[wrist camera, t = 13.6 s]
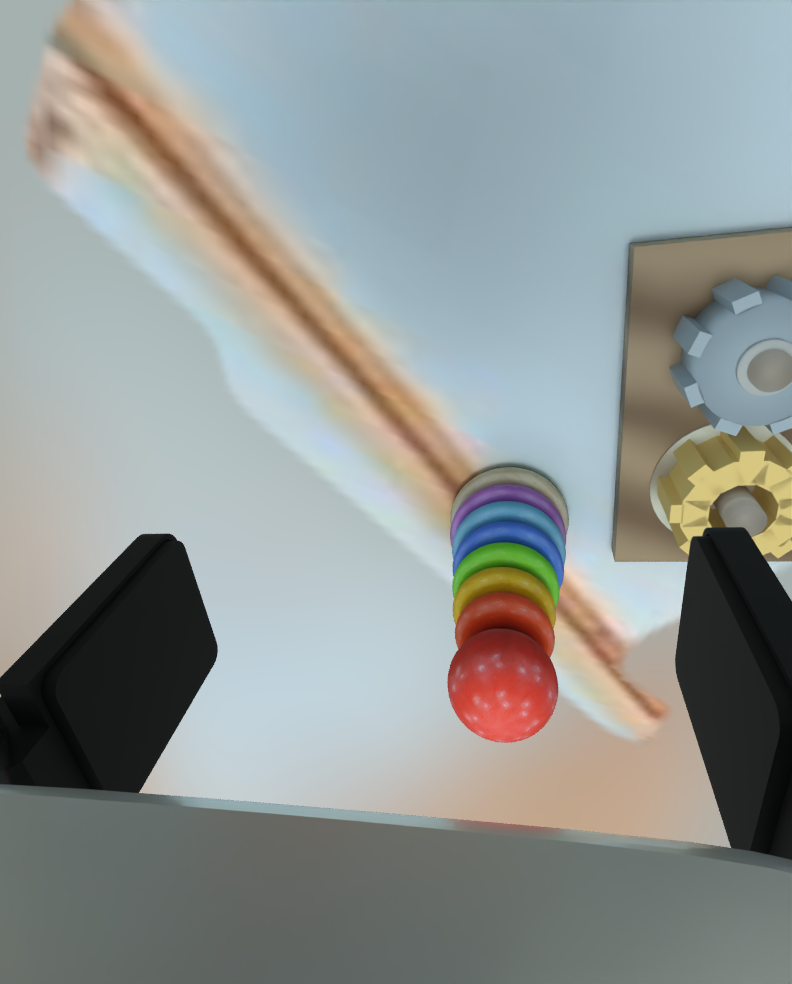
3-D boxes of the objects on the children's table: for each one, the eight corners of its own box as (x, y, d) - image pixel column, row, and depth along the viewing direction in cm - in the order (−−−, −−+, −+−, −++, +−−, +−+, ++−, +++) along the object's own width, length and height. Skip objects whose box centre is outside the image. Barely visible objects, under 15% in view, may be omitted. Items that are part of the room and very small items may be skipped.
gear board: (629, 243, 33) (651, 259, 28) (880, 218, 31) (954, 231, 26) (611, 549, 42) (625, 604, 37) (803, 548, 40) (846, 606, 35)
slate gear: (649, 316, 33) (665, 334, 30) (802, 247, 31) (838, 258, 27) (693, 432, 36) (711, 461, 33) (836, 377, 33) (873, 403, 30)
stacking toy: (590, 493, 41) (641, 715, 25) (530, 576, 45) (542, 816, 29) (483, 443, 40) (465, 637, 24) (433, 532, 44) (388, 750, 28)
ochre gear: (662, 428, 36) (676, 454, 33) (805, 422, 35) (833, 448, 32) (652, 537, 40) (664, 568, 37) (782, 535, 38) (805, 568, 35)
